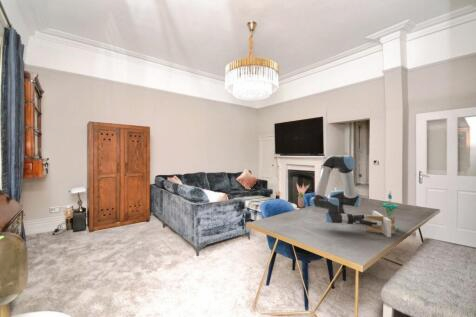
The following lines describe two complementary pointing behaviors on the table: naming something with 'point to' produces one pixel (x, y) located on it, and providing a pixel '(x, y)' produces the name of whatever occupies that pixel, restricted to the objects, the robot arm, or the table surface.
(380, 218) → the tan faceted tapered block
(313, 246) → the table surface
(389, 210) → the hanging basket ornament
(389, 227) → the cream slotted board
